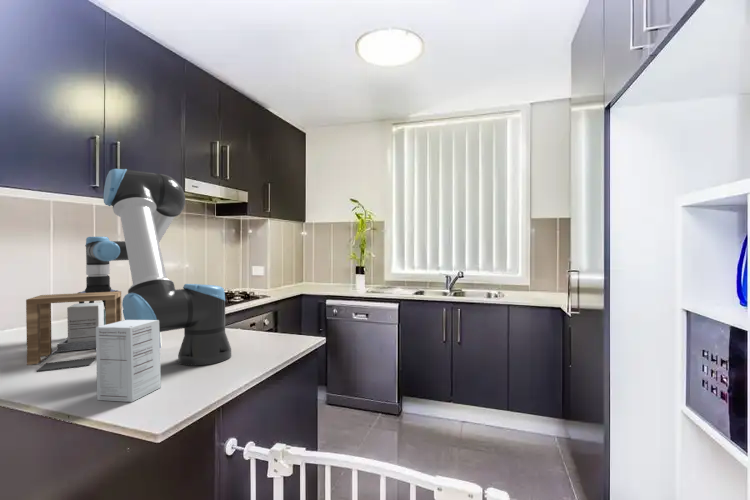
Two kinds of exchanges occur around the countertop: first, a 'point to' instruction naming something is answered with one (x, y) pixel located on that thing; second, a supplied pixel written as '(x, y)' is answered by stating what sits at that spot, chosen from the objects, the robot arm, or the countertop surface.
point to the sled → (77, 343)
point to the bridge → (41, 318)
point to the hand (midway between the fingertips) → (98, 333)
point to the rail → (47, 357)
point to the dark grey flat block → (66, 364)
